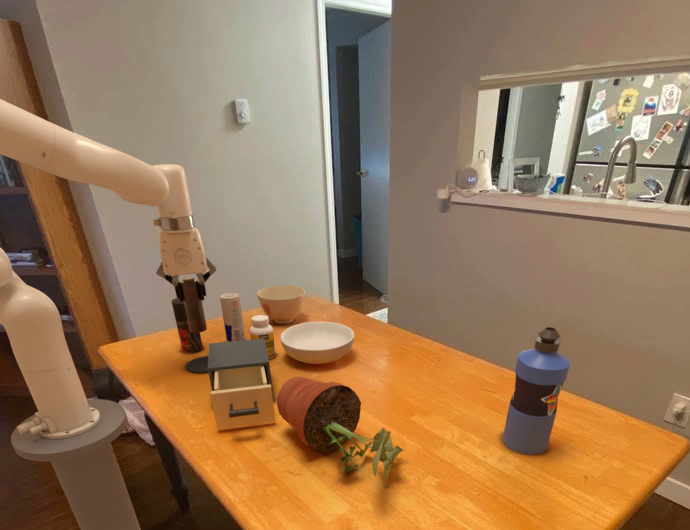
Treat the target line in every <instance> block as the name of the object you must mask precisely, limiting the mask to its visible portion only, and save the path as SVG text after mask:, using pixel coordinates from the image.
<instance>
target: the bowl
mask: <svg viewBox="0 0 690 530" xmlns="http://www.w3.org/2000/svg"><path fill="white" fill-rule="evenodd" d="M256 295H257V299H258V301H259V305H260V307H261V310H262V312H263V313H264V315H266V316H268V318H270V319H272V320H273V322H274V323H276V324H278V325H280V324H281V325H286V324H291V323H292V322H293V321H294V319H295V318H296V317H297V316H298V315H299V314H300V313H301V312H302V310H303V307H304V303H305V296H306V290H305V289H304V288H303V287H301V286H297V285H289V284H282V285H281V284H280V285H272V286H266V287H263V288H261V289H259V290H258V291H256Z"/></svg>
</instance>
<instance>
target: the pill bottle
mask: <svg viewBox="0 0 690 530" xmlns="http://www.w3.org/2000/svg"><path fill="white" fill-rule="evenodd" d="M269 318H270V317H269V316H267V315H266V314H258V315H253V316H252V317H251V324H252V325H251V326H250V327H249V336H250V340H252V339H263V338H264V340H265V345H266V349H267V354H268V358H269V360H271V359H273V358H274V357H275V356H276V346H275V335H274V328H273V326H272V325H271V324H269V323H270V320H269Z"/></svg>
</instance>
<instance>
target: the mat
mask: <svg viewBox="0 0 690 530" xmlns="http://www.w3.org/2000/svg"><path fill="white" fill-rule="evenodd" d="M185 369H186V370H187V371H188V372H190V373H192V374H209V372H208V355H206V356H199V357H196V358H192V359H191V360H189V361H188V362H187V363H186V364H185Z"/></svg>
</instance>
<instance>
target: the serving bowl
mask: <svg viewBox="0 0 690 530" xmlns="http://www.w3.org/2000/svg"><path fill="white" fill-rule="evenodd" d="M280 342H281V343H280V344H281V346H282V348H283V351H284V352H285V353H286V354H287V355H288V356H289V357H290V358H291V359H294V360H296V361H298V362H301V363H305V364H311V365H322V364H328V363H333V362H336V361H338V360H340V359H342V358H343V357H345V356H347V354H348V353H349V352H350V351H351V349H352V348H353V345H354V342H355V331H354V330H353V329H352V328H351V327H349V326H347V325H345V324H343V323H338V322H333V321H323V320H322V321H320V320H319V321H306V322H301V323H298V324H294V325H292V326H289V327H287V328H286V329H285V330H283V331H282V332H281V334H280Z"/></svg>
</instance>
